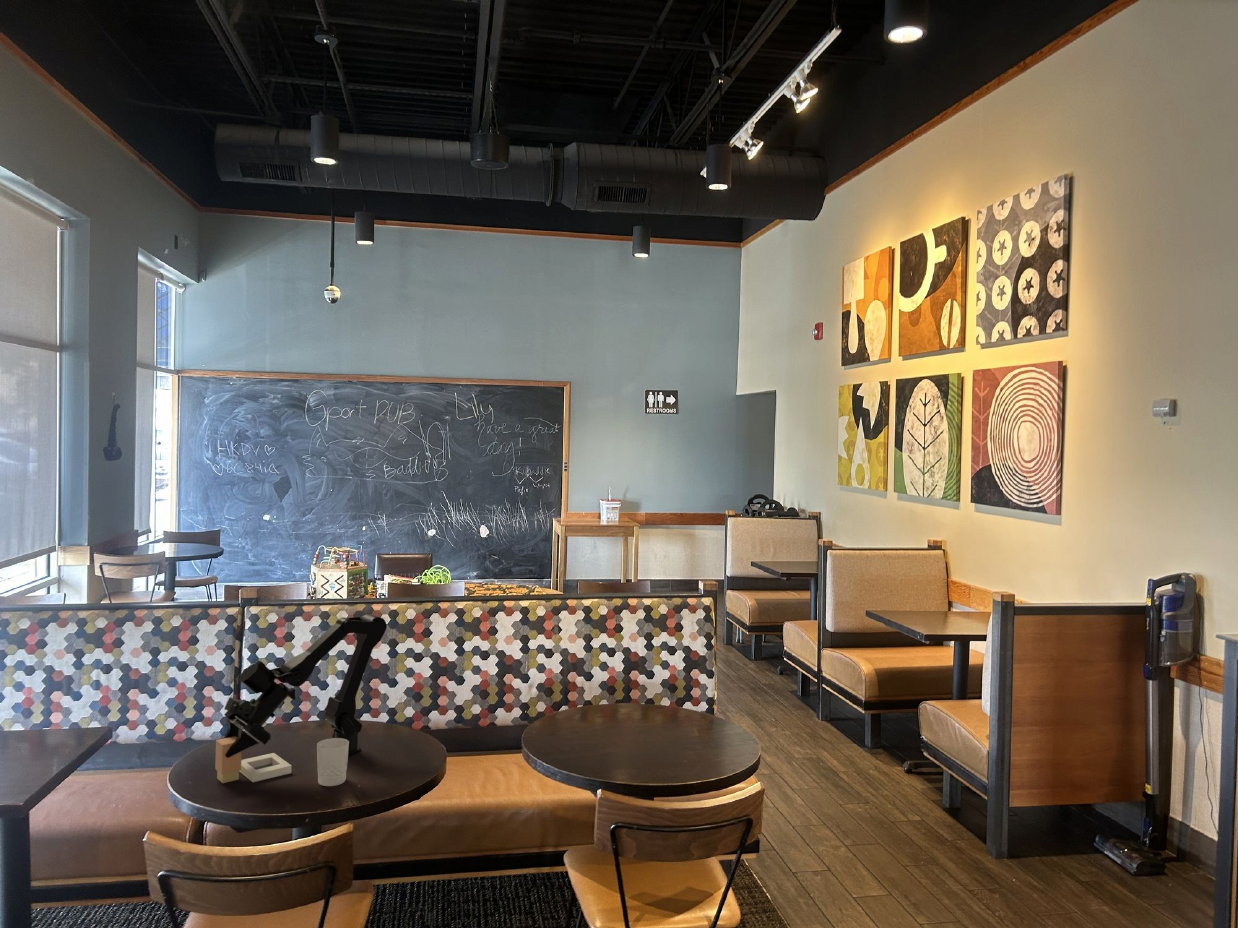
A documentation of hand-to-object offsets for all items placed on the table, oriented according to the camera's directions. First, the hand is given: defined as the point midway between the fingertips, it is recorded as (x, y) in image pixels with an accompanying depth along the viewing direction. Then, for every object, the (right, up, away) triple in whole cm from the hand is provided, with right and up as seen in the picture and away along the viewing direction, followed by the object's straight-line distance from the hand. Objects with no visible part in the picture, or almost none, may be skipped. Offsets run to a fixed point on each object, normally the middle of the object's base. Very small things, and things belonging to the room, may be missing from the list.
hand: (222, 753), depth 218 cm
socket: (+7, -7, +7) cm, 12 cm away
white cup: (+27, -8, +2) cm, 29 cm away
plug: (+1, -7, +1) cm, 7 cm away
